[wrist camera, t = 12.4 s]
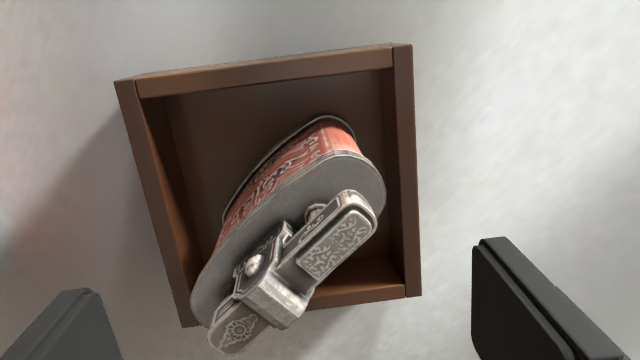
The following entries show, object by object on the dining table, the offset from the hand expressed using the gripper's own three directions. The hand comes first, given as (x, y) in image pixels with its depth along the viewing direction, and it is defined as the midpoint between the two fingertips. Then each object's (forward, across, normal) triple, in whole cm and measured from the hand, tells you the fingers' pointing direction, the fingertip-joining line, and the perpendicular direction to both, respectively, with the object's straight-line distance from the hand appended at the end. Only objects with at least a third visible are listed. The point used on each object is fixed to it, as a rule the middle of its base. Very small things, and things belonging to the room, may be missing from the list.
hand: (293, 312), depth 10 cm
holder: (+11, +1, 0) cm, 11 cm away
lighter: (+11, 0, 0) cm, 11 cm away
